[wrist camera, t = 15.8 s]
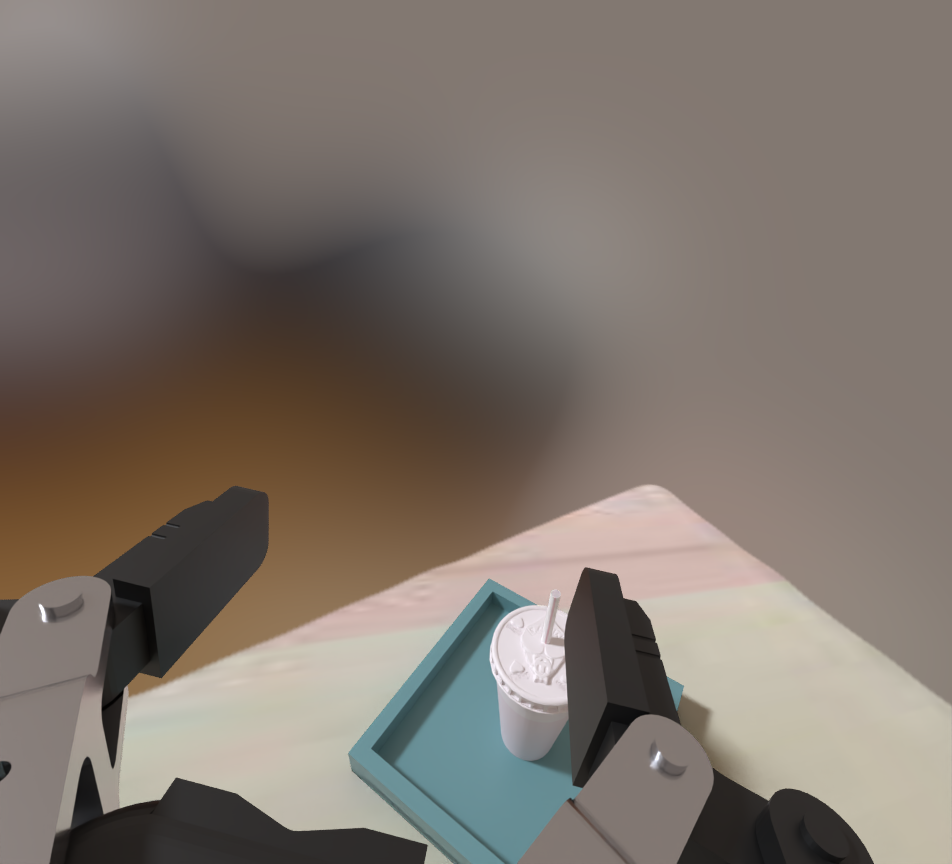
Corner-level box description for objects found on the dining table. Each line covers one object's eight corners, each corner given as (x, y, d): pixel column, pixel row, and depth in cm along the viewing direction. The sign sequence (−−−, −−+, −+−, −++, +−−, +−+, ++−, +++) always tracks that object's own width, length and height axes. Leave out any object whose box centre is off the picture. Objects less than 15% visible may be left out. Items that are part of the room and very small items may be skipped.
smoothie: (574, 696, 34) (613, 568, 27) (571, 797, 29) (618, 672, 22) (490, 676, 35) (505, 547, 28) (472, 770, 30) (485, 641, 23)
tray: (351, 770, 31) (348, 753, 29) (487, 596, 43) (488, 578, 42) (594, 991, 23) (604, 981, 22) (674, 703, 35) (684, 685, 34)
